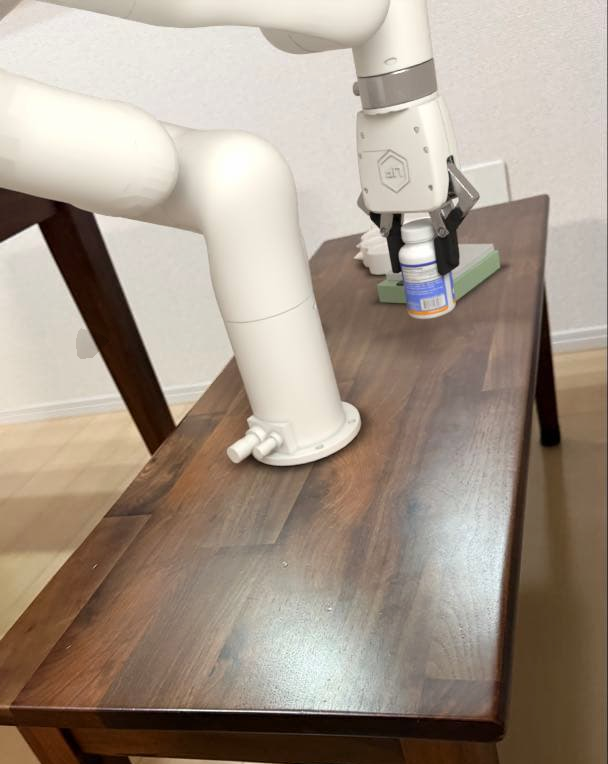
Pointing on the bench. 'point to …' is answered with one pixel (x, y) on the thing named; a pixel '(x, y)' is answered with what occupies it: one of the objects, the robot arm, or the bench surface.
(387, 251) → the white compartment tray
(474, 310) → the bench surface
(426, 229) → the pill bottle
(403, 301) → the scale
